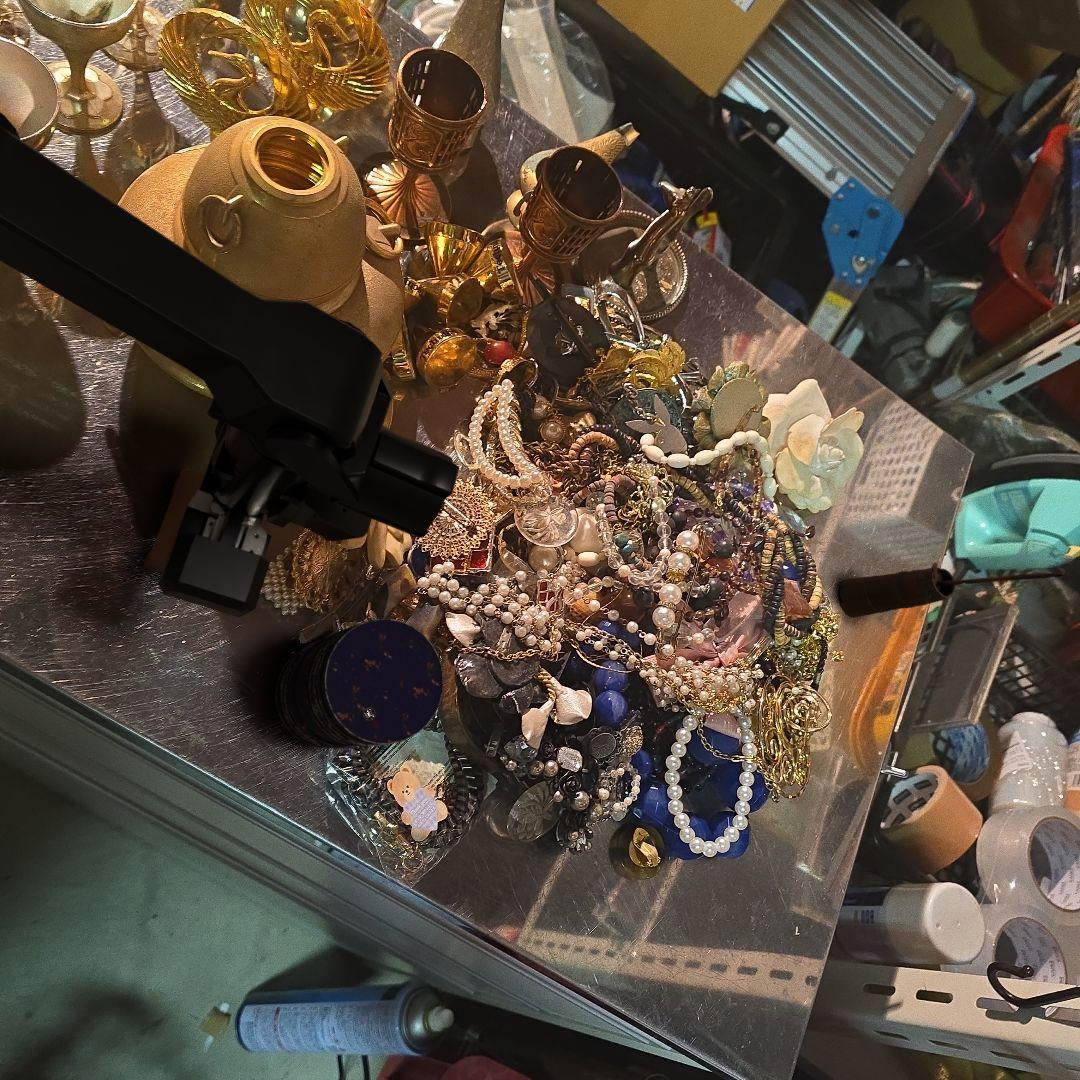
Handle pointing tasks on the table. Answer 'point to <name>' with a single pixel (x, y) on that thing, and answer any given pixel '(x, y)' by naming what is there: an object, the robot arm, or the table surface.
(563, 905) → the table surface
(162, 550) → the tan square box
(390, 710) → the storage jar
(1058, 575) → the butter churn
